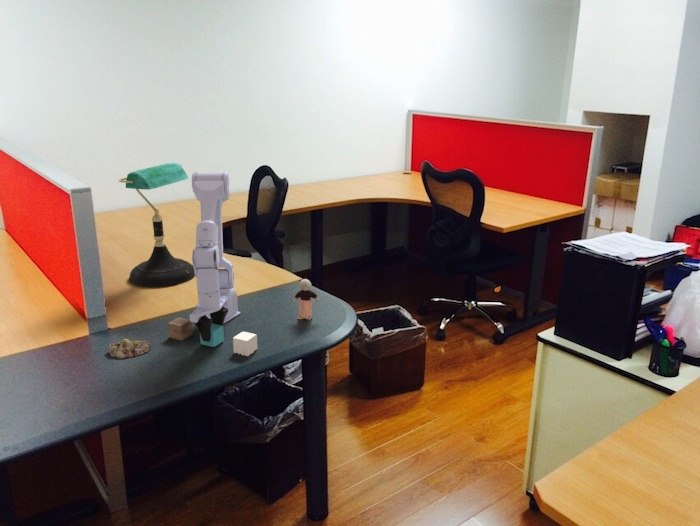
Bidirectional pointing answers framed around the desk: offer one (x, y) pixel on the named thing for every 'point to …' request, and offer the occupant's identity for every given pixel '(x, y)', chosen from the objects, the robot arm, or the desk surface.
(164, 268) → the banker's lamp
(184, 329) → the walnut block
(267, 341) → the desk surface
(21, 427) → the desk surface
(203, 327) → the robot arm
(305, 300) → the grandmother figurine
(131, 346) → the mineral rock
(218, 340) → the teal block
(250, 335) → the white block
